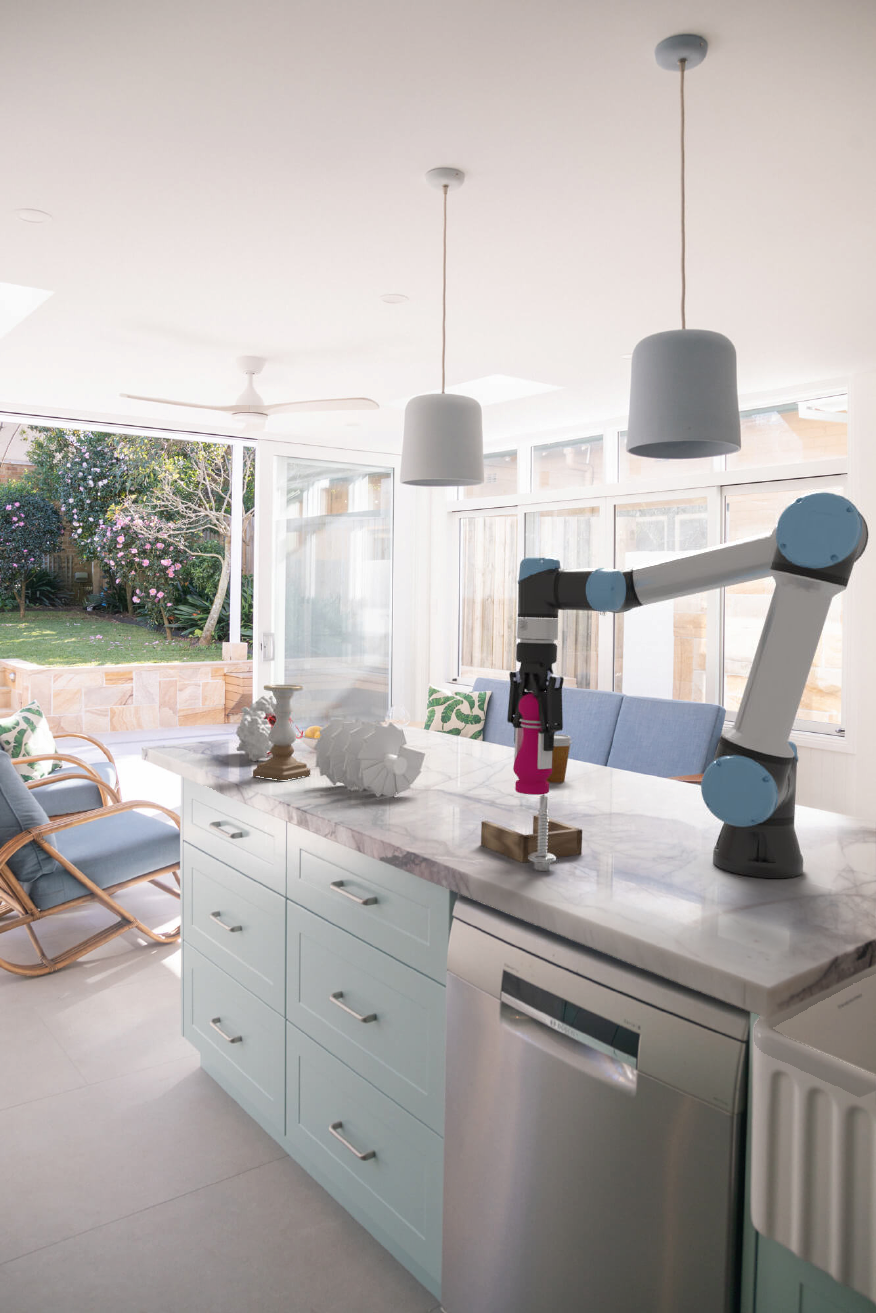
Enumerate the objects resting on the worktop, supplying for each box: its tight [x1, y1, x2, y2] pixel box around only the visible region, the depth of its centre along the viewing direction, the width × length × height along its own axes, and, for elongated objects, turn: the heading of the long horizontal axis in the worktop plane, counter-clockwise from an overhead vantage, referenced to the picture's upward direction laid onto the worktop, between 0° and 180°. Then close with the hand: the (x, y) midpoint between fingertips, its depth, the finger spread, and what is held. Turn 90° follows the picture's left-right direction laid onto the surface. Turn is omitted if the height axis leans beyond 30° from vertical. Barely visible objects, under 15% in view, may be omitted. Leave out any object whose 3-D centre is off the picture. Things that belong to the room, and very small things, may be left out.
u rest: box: [480, 814, 583, 864], centre depth 166 cm, size 13×13×4 cm
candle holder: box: [252, 684, 311, 780], centre depth 233 cm, size 11×11×24 cm
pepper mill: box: [512, 691, 552, 796], centre depth 165 cm, size 7×7×20 cm
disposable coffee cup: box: [546, 733, 573, 784], centre depth 237 cm, size 10×10×12 cm
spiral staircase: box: [313, 714, 426, 798], centre depth 217 cm, size 18×18×25 cm
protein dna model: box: [235, 695, 304, 762], centre depth 264 cm, size 20×18×25 cm
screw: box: [528, 794, 557, 872], centre depth 153 cm, size 13×5×5 cm
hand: (532, 764), depth 165 cm, fingers closed on pepper mill, 6 cm apart
